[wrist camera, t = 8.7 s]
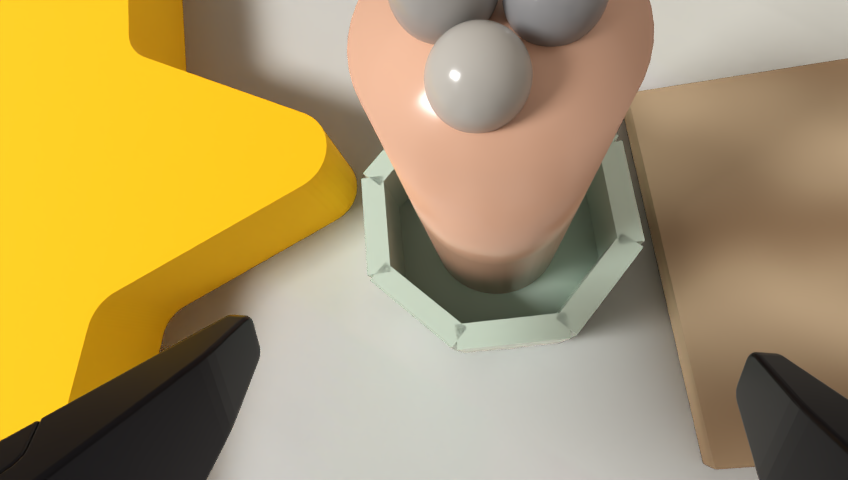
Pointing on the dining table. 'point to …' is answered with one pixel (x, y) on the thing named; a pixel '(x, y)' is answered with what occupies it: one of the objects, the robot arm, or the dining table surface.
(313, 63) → the dining table surface
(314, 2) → the dining table surface
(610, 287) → the bowl
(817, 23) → the dining table surface
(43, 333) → the star
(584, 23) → the peach cylinder with balls
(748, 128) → the board
